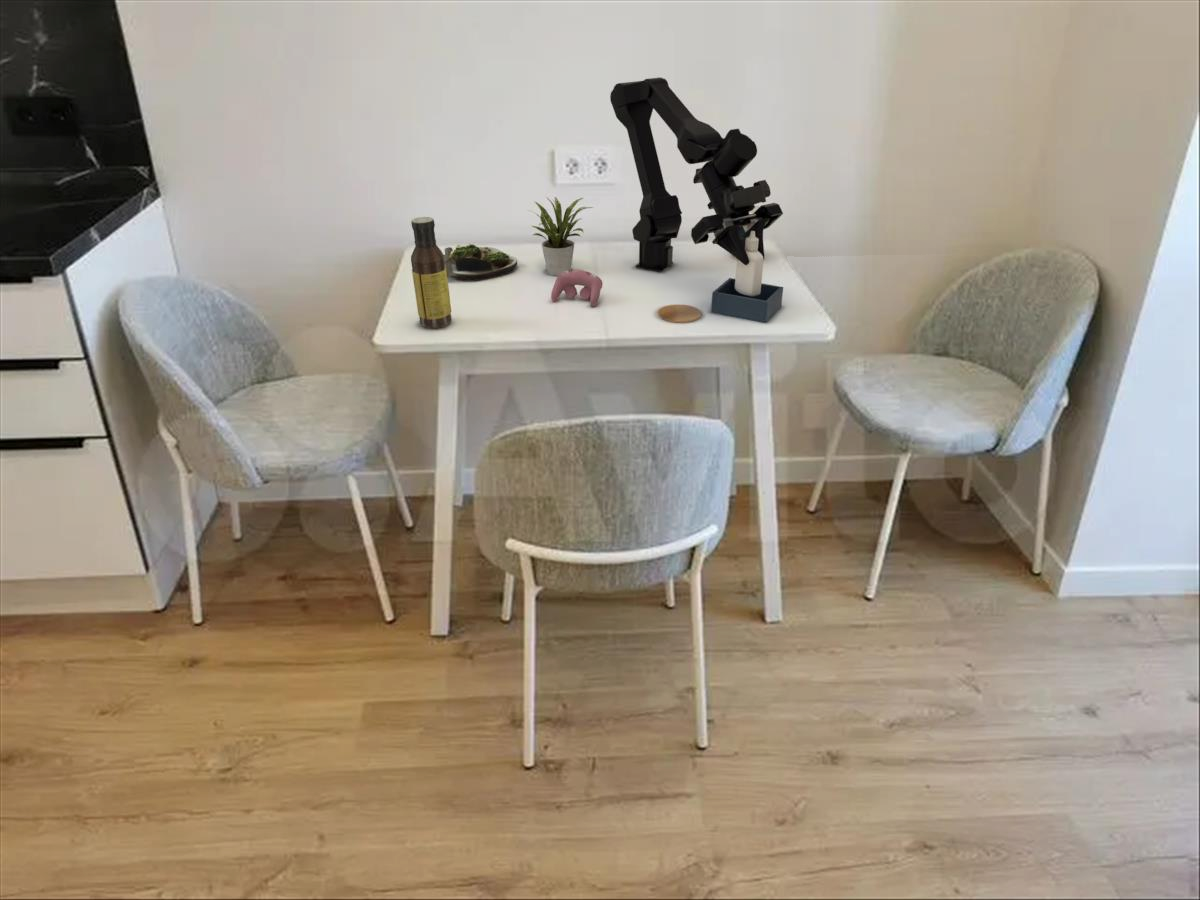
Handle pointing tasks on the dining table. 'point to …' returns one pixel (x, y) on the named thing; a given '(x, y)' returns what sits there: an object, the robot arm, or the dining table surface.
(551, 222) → the house plant
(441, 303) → the sauce bottle
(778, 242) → the dining table surface
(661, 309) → the coaster
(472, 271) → the salad plate
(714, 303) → the tub
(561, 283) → the video game controller
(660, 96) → the robot arm
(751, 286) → the eye dropper bottle
